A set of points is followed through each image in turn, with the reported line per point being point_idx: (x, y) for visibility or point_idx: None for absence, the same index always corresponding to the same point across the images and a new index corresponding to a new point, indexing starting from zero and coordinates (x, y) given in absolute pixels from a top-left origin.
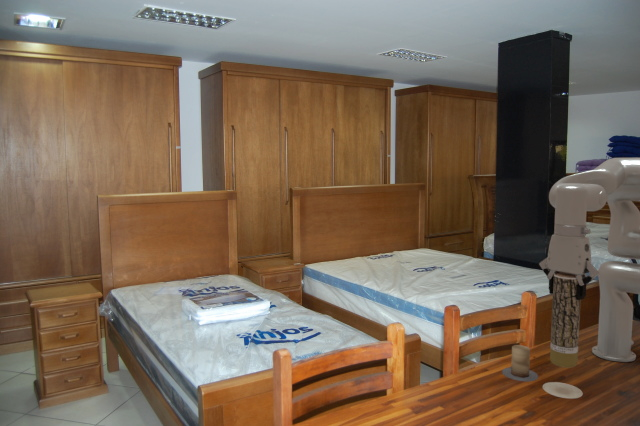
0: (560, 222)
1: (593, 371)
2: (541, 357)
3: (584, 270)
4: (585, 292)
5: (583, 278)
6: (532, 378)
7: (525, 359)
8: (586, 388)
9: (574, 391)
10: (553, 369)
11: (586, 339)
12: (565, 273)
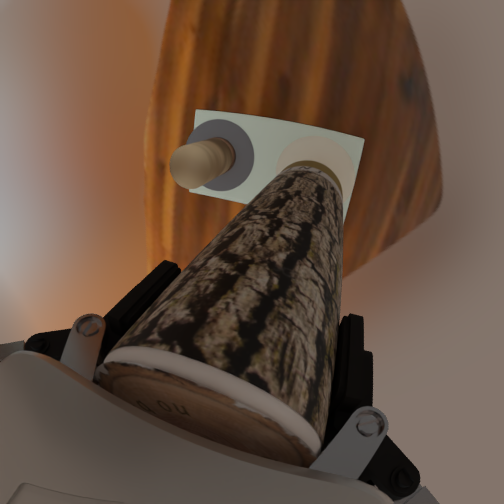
0: None
1: (323, 8)
2: (205, 18)
3: (327, 500)
4: (369, 372)
5: (340, 456)
6: (246, 159)
7: (215, 174)
8: (346, 110)
9: (337, 166)
10: (252, 57)
11: None
12: (155, 411)
